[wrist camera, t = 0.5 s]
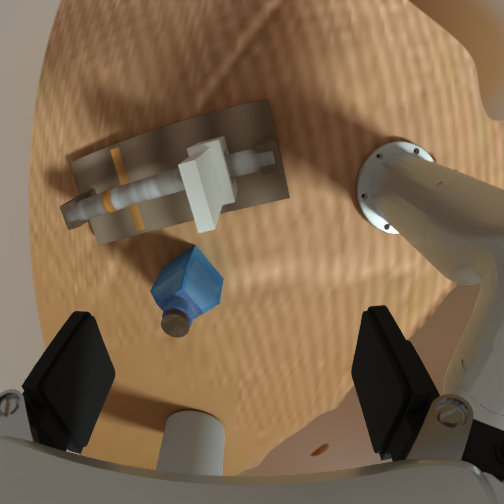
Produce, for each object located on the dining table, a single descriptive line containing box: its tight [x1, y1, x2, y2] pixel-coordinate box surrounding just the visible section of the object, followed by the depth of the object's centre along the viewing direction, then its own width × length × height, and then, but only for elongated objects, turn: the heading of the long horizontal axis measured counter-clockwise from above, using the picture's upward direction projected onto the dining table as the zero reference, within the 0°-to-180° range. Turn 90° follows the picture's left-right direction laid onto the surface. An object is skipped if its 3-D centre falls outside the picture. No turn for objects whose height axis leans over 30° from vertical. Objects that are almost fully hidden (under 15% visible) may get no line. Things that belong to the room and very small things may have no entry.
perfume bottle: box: [150, 245, 223, 337], centre depth 38 cm, size 6×6×12 cm
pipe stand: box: [60, 99, 290, 245], centre depth 34 cm, size 26×12×8 cm, turn 103°
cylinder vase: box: [156, 411, 225, 476], centre depth 48 cm, size 12×12×25 cm
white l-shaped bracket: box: [178, 136, 238, 233], centre depth 27 cm, size 3×6×14 cm, turn 14°
